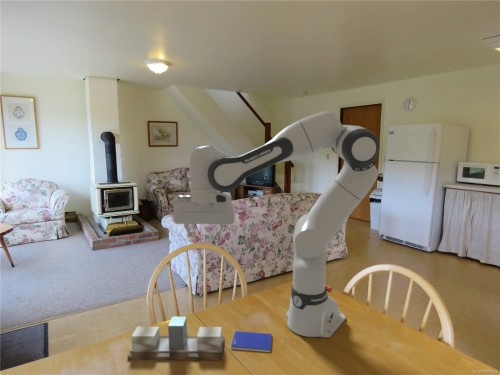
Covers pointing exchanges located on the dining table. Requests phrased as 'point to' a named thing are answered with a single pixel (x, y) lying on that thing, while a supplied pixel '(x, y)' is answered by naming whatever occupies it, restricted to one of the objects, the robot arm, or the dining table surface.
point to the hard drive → (252, 341)
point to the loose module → (177, 333)
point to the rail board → (157, 348)
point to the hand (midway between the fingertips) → (204, 236)
